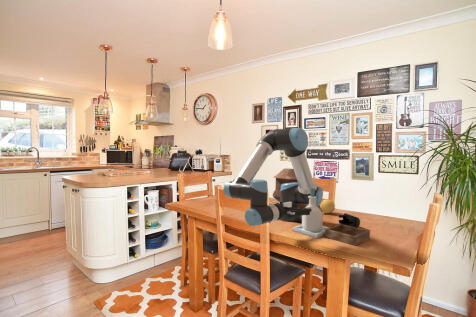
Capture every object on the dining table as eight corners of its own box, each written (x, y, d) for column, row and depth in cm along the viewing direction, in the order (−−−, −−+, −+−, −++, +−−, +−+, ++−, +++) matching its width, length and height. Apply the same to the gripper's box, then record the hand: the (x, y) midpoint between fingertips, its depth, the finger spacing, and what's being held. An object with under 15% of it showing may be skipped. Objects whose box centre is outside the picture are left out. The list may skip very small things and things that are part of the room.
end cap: (360, 228, 143) (360, 216, 143) (349, 229, 141) (350, 217, 141) (348, 223, 152) (348, 212, 152) (338, 224, 150) (338, 213, 150)
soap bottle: (323, 233, 132) (324, 189, 131) (305, 232, 132) (305, 189, 131) (318, 227, 141) (318, 187, 141) (301, 227, 142) (301, 187, 141)
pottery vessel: (276, 209, 191) (276, 169, 190) (269, 202, 216) (269, 167, 215) (309, 208, 193) (310, 169, 192) (298, 202, 218) (299, 167, 218)
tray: (292, 230, 138) (292, 227, 138) (308, 225, 147) (308, 222, 147) (316, 238, 126) (316, 234, 126) (332, 232, 136) (332, 228, 136)
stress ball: (336, 215, 175) (335, 204, 183) (334, 206, 170) (333, 195, 177) (321, 216, 179) (320, 205, 186) (319, 208, 173) (318, 196, 180)
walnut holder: (324, 237, 128) (325, 229, 128) (340, 231, 138) (340, 223, 138) (355, 245, 116) (355, 237, 116) (369, 238, 126) (369, 230, 126)
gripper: (255, 215, 126) (282, 209, 140) (295, 226, 107) (323, 218, 121) (255, 200, 126) (282, 195, 140) (296, 209, 107) (323, 202, 120)
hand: (301, 206), depth 130 cm, fingers open, 13 cm apart
